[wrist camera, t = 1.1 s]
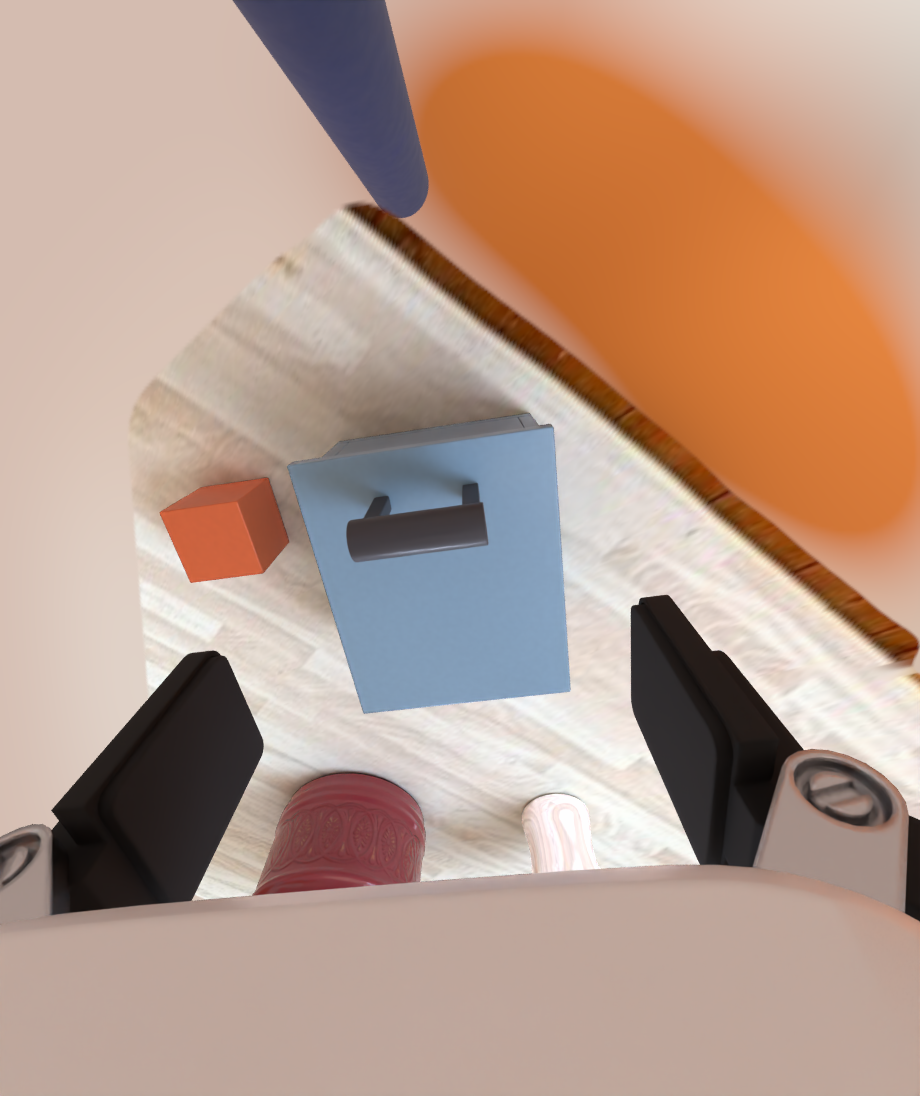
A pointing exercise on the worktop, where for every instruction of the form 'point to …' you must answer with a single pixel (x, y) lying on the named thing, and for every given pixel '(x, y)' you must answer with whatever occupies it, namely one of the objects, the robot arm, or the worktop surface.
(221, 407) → the worktop surface
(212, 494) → the orange cube
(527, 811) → the silver metal tumbler
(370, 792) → the kitchen canister
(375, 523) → the lid
